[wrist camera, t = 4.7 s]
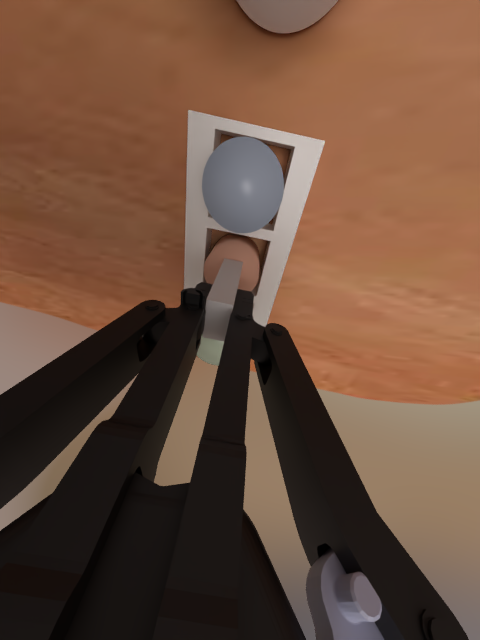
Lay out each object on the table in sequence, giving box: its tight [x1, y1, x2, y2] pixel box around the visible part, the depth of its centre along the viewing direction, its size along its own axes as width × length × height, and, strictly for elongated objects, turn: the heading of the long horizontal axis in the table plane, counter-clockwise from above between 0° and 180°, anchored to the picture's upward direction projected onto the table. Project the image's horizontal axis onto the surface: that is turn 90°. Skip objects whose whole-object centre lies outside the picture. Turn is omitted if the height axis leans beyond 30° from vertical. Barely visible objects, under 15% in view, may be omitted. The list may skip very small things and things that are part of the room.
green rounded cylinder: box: [197, 334, 224, 366], centre depth 21 cm, size 5×5×4 cm
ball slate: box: [202, 137, 284, 233], centre depth 13 cm, size 5×5×4 cm
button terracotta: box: [204, 233, 260, 291], centre depth 19 cm, size 5×5×4 cm
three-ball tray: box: [184, 110, 325, 327], centre depth 20 cm, size 9×19×2 cm, turn 170°
